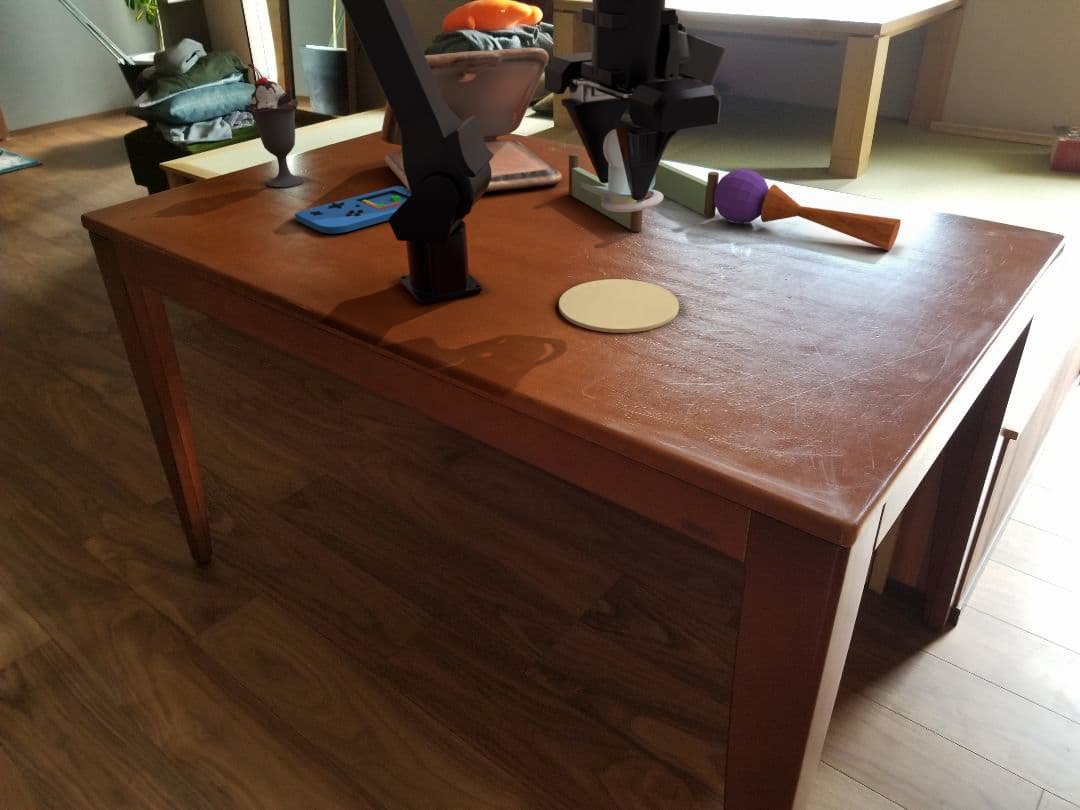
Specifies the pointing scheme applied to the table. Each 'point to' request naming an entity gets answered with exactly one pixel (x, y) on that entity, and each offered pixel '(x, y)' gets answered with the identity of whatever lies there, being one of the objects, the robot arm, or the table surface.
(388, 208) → the handheld gaming device
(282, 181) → the sundae
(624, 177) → the pacifier
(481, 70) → the case
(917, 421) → the table surface
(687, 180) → the rack
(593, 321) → the coaster
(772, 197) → the kendama
